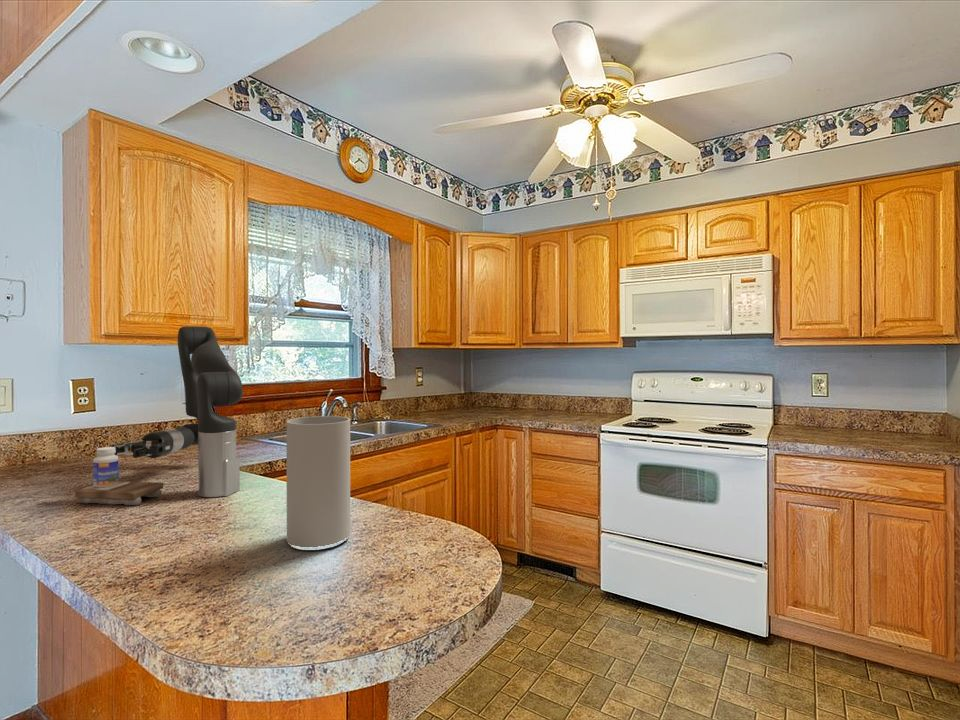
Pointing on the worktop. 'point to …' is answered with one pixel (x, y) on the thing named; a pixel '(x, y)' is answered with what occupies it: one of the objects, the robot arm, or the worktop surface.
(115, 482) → the pill bottle
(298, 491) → the cylinder vase
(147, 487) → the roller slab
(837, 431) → the worktop surface
